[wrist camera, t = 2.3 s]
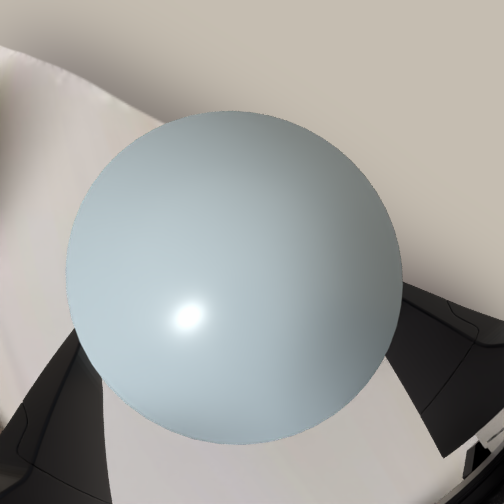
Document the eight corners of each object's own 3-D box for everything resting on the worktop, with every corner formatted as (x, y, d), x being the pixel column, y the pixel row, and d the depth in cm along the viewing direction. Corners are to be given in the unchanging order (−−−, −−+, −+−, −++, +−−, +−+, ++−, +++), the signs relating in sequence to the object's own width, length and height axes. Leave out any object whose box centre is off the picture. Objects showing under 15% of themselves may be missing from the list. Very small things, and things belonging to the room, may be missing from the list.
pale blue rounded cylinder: (281, 321, 17) (443, 293, 5) (201, 379, 16) (211, 501, 3) (224, 242, 18) (274, 79, 6) (143, 296, 16) (22, 214, 4)
